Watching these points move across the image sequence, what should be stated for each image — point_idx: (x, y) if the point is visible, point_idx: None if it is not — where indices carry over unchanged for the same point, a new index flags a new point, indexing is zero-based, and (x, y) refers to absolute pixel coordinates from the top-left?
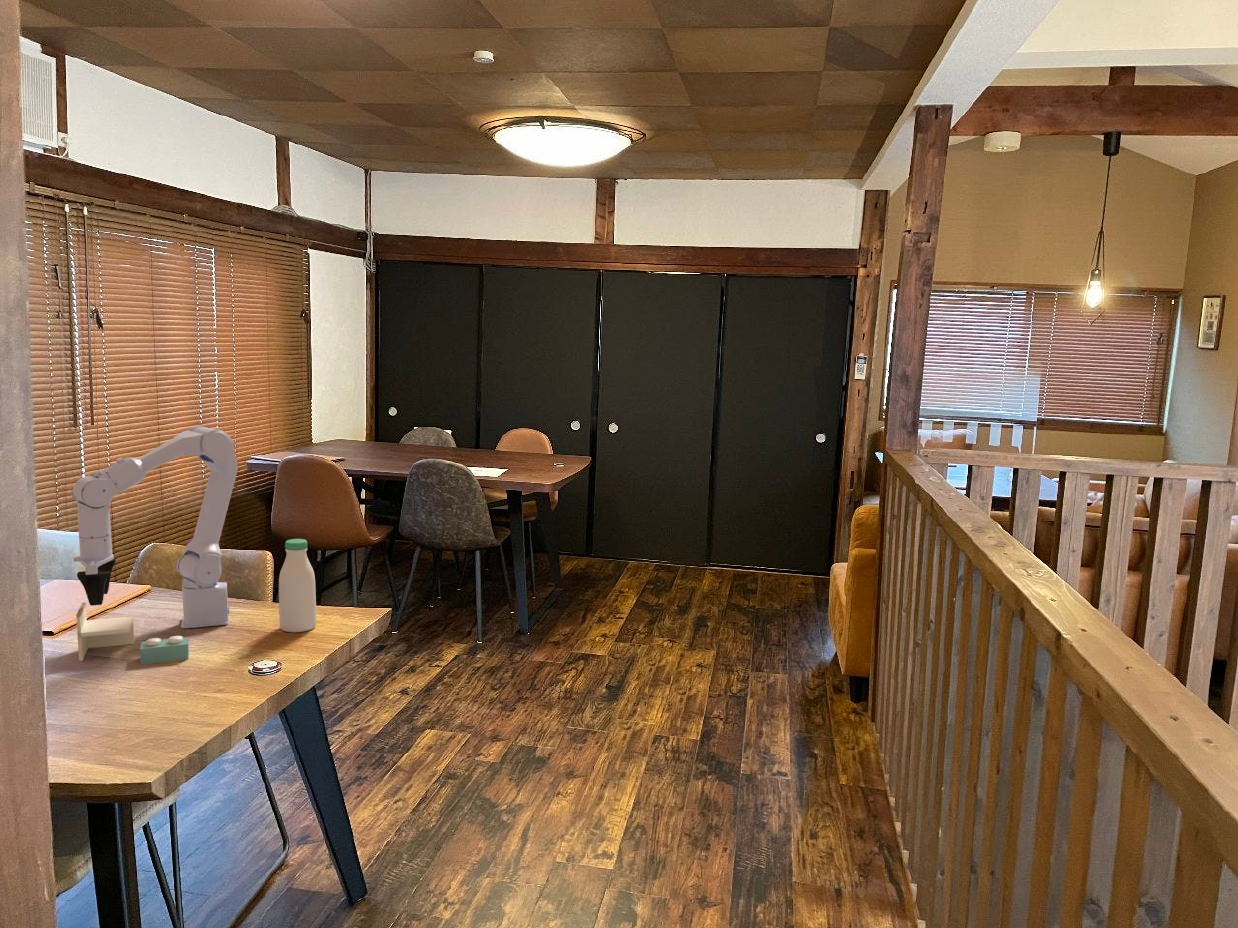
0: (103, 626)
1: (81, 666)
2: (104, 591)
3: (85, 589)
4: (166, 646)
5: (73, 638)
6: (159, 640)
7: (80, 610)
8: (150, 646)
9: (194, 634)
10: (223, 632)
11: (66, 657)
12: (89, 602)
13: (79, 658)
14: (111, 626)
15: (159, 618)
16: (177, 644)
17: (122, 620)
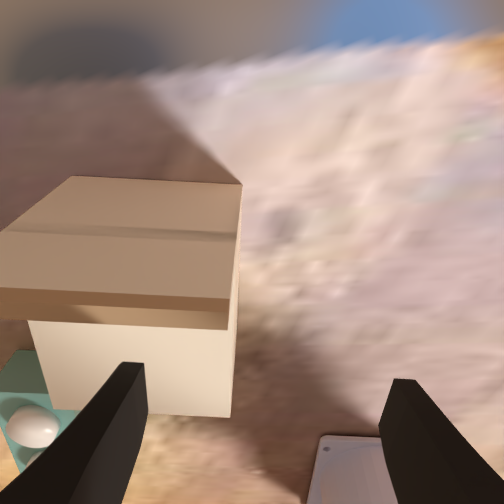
0: (102, 329)
1: (10, 188)
2: (388, 431)
3: (18, 476)
4: (10, 445)
5: (401, 126)
6: (24, 445)
7: (21, 313)
8: (11, 413)
9: (259, 454)
10: (248, 498)
11: (132, 121)
12: (111, 376)
13: (66, 181)
14: (97, 356)
15: (482, 388)
16: (25, 465)
17: (180, 388)
